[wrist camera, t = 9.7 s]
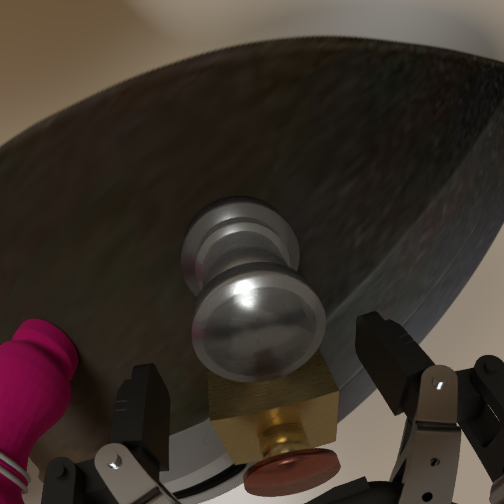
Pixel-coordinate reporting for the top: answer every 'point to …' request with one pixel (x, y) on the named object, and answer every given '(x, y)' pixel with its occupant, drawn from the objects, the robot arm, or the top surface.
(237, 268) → the door knob
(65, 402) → the pepper mill
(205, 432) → the hinge
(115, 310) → the top surface
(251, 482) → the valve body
